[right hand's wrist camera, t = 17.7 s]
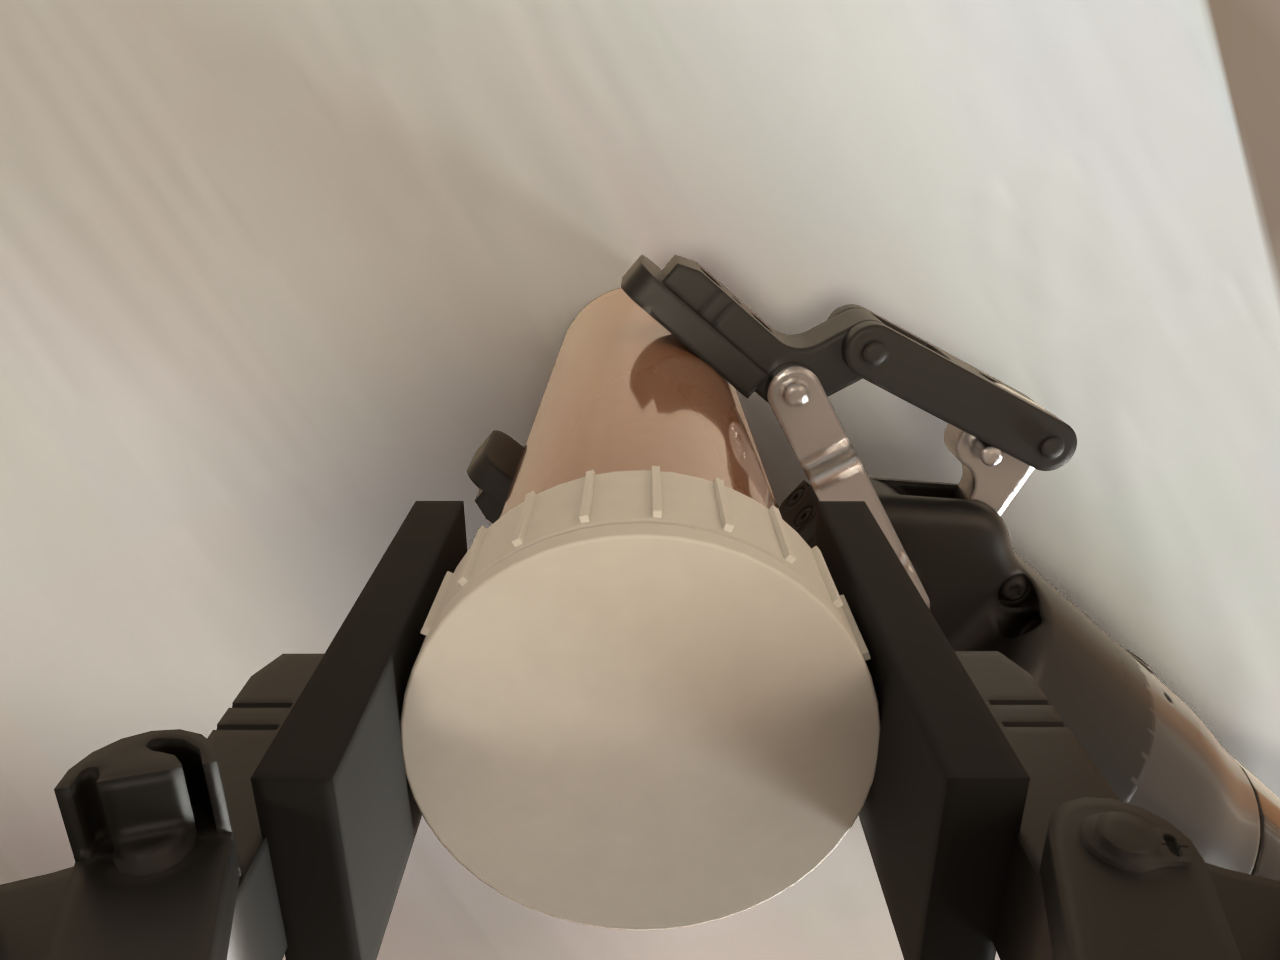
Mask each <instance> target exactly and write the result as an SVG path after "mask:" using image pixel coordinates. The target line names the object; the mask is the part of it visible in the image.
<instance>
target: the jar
mask: <svg viewBox="0 0 1280 960" xmlns="http://www.w3.org/2000/svg"><path fill="white" fill-rule="evenodd" d="M651 466H660V471H662V472H674V473H679V474H684V475H689V476H694V477H698V478H703V479H706V480H709V481H712V482H714V481H715V478H719V479H722V480H724V484H725V486H727V487H729V488H732V489H734V490H736V491H738V492H740V493H742V494H744V495H746V496H748V497H750V498H752V499H754V500H756V501H757V502H759V503H760V504H762V505H763V506H765V507H766V508H768V509H770V508H771V506H772V505H773V506H775V507H776V508H778V506H777V503H776V500H775V497H774V495H773V492H772V489H771V486H770V484H769V481H768V478H767V475H766V473H765V470H764V467H763V464H762V461H761V459H760V456H759V453H758V450H757V448H756V445H755V442H754V439H753V437H752V434H751V431H750V428H749V425H748V423H747V420H746V417H745V414H744V412H743V409H742V406H741V403H740V401H739V398H738V395H737V392H736V389H735V388H734V387H733V386H732V385H731V384H730V383H729V382H727V381H726V380H725V379H724V378H723V377H722V376H721V375H719V374H718V373H717V372H716V371H715V370H714V369H713V368H712V367H711V366H709V365H708V364H706V363H705V362H704V361H703V360H702V359H701V358H699V357H698V356H697V355H696V354H695V353H694V352H692V351H691V350H690V349H689V348H688V347H686V346H685V345H684V344H683V343H682V342H681V341H679V340H678V339H677V338H676V337H675V336H674V335H672V334H671V333H670V332H669V331H668V330H667V329H665V328H664V327H663V326H662V325H661V324H660V323H658V322H657V321H656V320H655V319H654V318H653V317H651V316H650V315H649V314H648V313H647V312H645V311H644V310H643V309H642V308H641V307H640V306H638V305H637V304H636V303H635V302H634V301H633V300H632V299H631V298H630V297H629V296H628V295H627V294H626V293H625V292H624V291H623V289H622V288H619V289H616V290H613V291H610V292H608V293H606V294H604V295H601V296H600V297H598V298H597V299H595V300H593V301H592V302H591V303H589V304H588V305H587V306H586V307H585V308H584V309H583V310H582V311H581V312H580V313H579V314H578V315H577V316H576V318H575V319H574V321H573V322H572V323H571V325H570V327H569V329H568V331H567V333H566V335H565V337H564V340H563V343H562V346H561V348H560V351H559V354H558V357H557V360H556V362H555V365H554V368H553V371H552V373H551V376H550V379H549V382H548V384H547V387H546V390H545V393H544V395H543V398H542V401H541V404H540V407H539V409H538V412H537V415H536V418H535V420H534V423H533V426H532V429H531V431H530V434H529V437H528V440H527V443H526V445H525V448H524V451H523V454H522V456H521V459H520V462H519V465H518V467H517V470H516V473H515V476H514V478H513V481H512V484H511V487H510V490H509V492H508V495H507V498H506V501H505V503H504V506H503V509H502V512H501V514H500V517H499V519H500V518H501V517H502V516H503V515H504V514H506V513H507V512H508V511H509V510H511V509H513V508H514V507H516V506H517V505H519V504H521V503H522V502H524V500H525V497H526V494H527V493H529V492H531V491H534V493H535V494H539V493H541V492H543V491H545V490H548V489H550V488H552V487H554V486H557V485H559V484H562V483H566V482H569V481H572V480H576V479H579V478H582V477H585V476H586V471H591V470H594V471H595V475H597V474H603V473H609V472H615V471H636V470H649V471H651ZM779 512H780V511H779Z"/></svg>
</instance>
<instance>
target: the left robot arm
mask: <svg viewBox="0 0 1280 960" xmlns="http://www.w3.org/2000/svg"><path fill="white" fill-rule="evenodd" d="M621 288H622V289H623V291H624V292H625V293H626V294H627V295H628V296H629V297H630V298H631V299H632V300H633V301H634V302H635V303H636V304H637V305H638V306H640V307H641V308H642V309H643V310H644V311H645V312H647V313H648V314H649V315H650V316H651V317H653V318H654V319H655V320H656V321H657V322H658V323H660V324H661V325H662V326H663V327H664V328H665V329H667V330H668V331H669V332H670V333H671V334H672V335H674V336H675V337H676V338H677V339H678V340H679V341H681V342H682V343H683V344H684V345H685V346H686V347H688V348H689V349H690V350H691V351H692V352H694V353H695V354H696V355H697V356H698V357H699V358H701V359H702V360H703V361H704V362H705V363H706V364H708V365H709V366H711V367H712V368H713V369H714V370H715V371H716V372H717V373H718V374H719V375H721V376H722V377H723V378H724V379H725V380H726V381H727V382H729V383H730V384H731V385H732V386H733V387H734V388H736V389H737V390H738V391H739V392H740V393H742V394H743V395H744V396H745V397H746V398H748V397H749V396H750V395H751V394H752V393H753V392H754V391H755V392H756V393H758V394H759V395H760V396H761V397H762V398H763V399H765V400H766V401H767V402H768V403H769V404H770V406H771V408H772V410H773V412H774V414H775V416H776V418H777V420H778V421H779V423H780V425H781V427H782V429H783V431H784V433H785V435H786V437H787V439H788V441H789V443H790V445H791V446H792V448H793V450H794V452H795V454H796V456H797V458H798V460H799V462H800V464H801V466H802V468H803V470H804V472H805V474H806V476H807V478H808V479H809V481H810V483H811V485H809V484H808V483H807V482H806V481H803V482H802V483H801V484H800V485H799V486H798V487H797V488H796V489H795V490H794V491H793V492H792V493H791V494H790V495H789V496H788V497H787V498H786V499H785V500H784V501H783V503H782V504H781V506H780V508H779V511H780V514H781V517H782V519H783V520H784V521H785V522H786V523H787V524H788V525H789V526H791V527H792V528H793V529H794V530H795V531H796V532H797V533H798V534H799V535H800V536H801V537H802V538H803V540H804V541H805V542H806V543H807V544H808V545H809V547H810V548H811V549H812V548H813V547H814V536H815V523H816V510H817V501H865V503H866V504H867V506H868V508H869V509H870V511H871V513H872V514H873V516H874V518H875V520H876V521H877V523H878V525H879V526H880V528H881V530H882V531H883V533H884V535H885V536H886V538H887V540H888V541H889V543H890V545H891V546H892V548H893V550H894V551H895V553H896V555H897V556H898V558H899V560H900V561H901V563H902V565H903V566H904V568H905V570H906V571H907V573H908V575H909V576H910V578H911V580H912V581H913V583H914V585H915V586H916V588H917V590H918V591H919V593H920V595H921V596H922V598H923V600H924V601H925V603H926V605H927V606H928V608H929V610H930V611H931V613H932V615H933V616H934V618H935V620H936V621H937V623H938V625H939V627H940V628H941V630H942V632H943V633H944V635H945V637H946V638H947V640H948V642H949V643H950V645H951V647H952V648H953V650H954V651H999V652H1000V653H1001V654H1003V655H1004V656H1006V657H1007V658H1008V659H1010V660H1011V661H1013V662H1014V663H1016V664H1017V665H1018V666H1020V667H1021V668H1023V669H1024V670H1025V671H1027V672H1028V673H1030V675H1031V676H1032V677H1033V679H1034V680H1035V682H1036V683H1037V684H1038V686H1039V687H1040V689H1041V690H1042V691H1043V693H1044V694H1045V696H1046V697H1047V698H1048V703H1049V705H1053V707H1054V708H1055V710H1056V711H1057V712H1058V714H1059V715H1060V717H1061V718H1062V719H1063V721H1064V727H1068V728H1069V729H1070V731H1071V732H1072V734H1073V735H1074V736H1075V738H1076V739H1077V741H1078V742H1079V743H1080V745H1081V746H1082V748H1083V749H1084V750H1085V752H1086V753H1087V755H1088V756H1089V757H1090V759H1091V760H1092V762H1093V763H1094V764H1095V766H1096V767H1097V769H1098V770H1099V771H1100V773H1101V774H1102V776H1103V777H1104V778H1105V780H1106V781H1107V783H1108V784H1109V785H1110V787H1111V788H1112V790H1113V791H1114V792H1115V794H1116V795H1117V797H1118V798H1119V800H1120V801H1122V802H1125V803H1129V804H1132V805H1136V806H1139V807H1142V808H1144V809H1146V810H1147V811H1149V812H1151V813H1153V814H1155V815H1157V816H1159V817H1161V818H1163V819H1165V820H1167V821H1169V822H1170V823H1171V824H1172V825H1173V826H1175V827H1176V828H1177V829H1178V830H1179V831H1180V832H1182V833H1183V834H1184V835H1185V836H1186V837H1188V838H1189V839H1190V840H1191V841H1192V843H1193V844H1194V846H1195V847H1196V849H1197V850H1198V852H1199V853H1200V855H1201V856H1202V858H1203V860H1204V861H1205V863H1209V864H1212V865H1215V866H1219V867H1222V868H1225V869H1229V870H1233V871H1238V872H1242V873H1246V874H1251V875H1255V876H1259V877H1264V878H1268V879H1272V880H1277V881H1280V798H1279V797H1278V796H1276V795H1275V794H1274V793H1273V792H1272V791H1271V790H1270V789H1268V788H1267V787H1266V786H1265V785H1264V784H1263V783H1262V782H1260V781H1259V780H1258V779H1257V778H1256V777H1255V776H1254V775H1252V774H1251V773H1250V772H1249V771H1248V770H1247V769H1246V768H1244V767H1243V766H1242V765H1241V764H1240V763H1239V762H1238V761H1236V760H1235V759H1234V758H1233V757H1232V756H1231V755H1230V754H1229V753H1228V752H1227V751H1226V750H1225V749H1224V748H1223V747H1222V746H1221V745H1220V744H1219V742H1218V741H1217V740H1216V738H1215V737H1214V736H1213V735H1212V733H1211V732H1210V731H1209V730H1208V728H1207V727H1206V726H1205V725H1204V724H1203V723H1202V721H1201V720H1200V719H1199V718H1198V717H1197V716H1196V714H1195V713H1194V712H1193V711H1192V710H1191V709H1190V708H1189V707H1188V706H1187V705H1186V704H1185V703H1184V702H1183V701H1182V700H1181V699H1180V698H1179V697H1178V696H1176V695H1175V694H1174V693H1173V692H1172V691H1171V690H1169V689H1168V688H1167V687H1166V686H1165V685H1164V684H1163V683H1162V682H1161V681H1160V680H1158V679H1157V678H1156V675H1155V673H1154V672H1153V671H1152V670H1151V669H1150V667H1149V666H1148V665H1147V664H1146V663H1145V662H1144V661H1142V660H1141V659H1140V658H1138V657H1137V656H1136V655H1134V654H1133V653H1131V652H1129V651H1127V650H1125V649H1123V648H1122V647H1121V646H1120V645H1119V644H1118V643H1116V642H1115V641H1114V640H1113V639H1112V638H1111V637H1110V636H1108V635H1107V634H1106V633H1105V632H1104V631H1103V630H1102V629H1101V628H1099V627H1098V626H1097V625H1096V624H1095V623H1094V622H1092V621H1091V620H1090V619H1089V618H1088V617H1087V616H1086V615H1085V614H1083V613H1082V612H1081V611H1080V610H1079V609H1078V608H1077V607H1075V606H1074V605H1073V604H1072V603H1071V602H1070V601H1069V600H1068V599H1066V598H1065V597H1064V596H1063V595H1062V594H1061V593H1060V592H1058V591H1057V590H1056V589H1055V588H1054V587H1053V586H1052V585H1051V584H1049V583H1048V582H1047V581H1046V580H1045V579H1044V578H1043V577H1042V576H1040V575H1039V574H1038V573H1037V572H1036V571H1035V570H1034V569H1032V568H1031V567H1030V566H1029V565H1028V564H1027V563H1026V562H1025V561H1023V560H1022V559H1021V558H1020V557H1019V556H1018V555H1017V554H1016V553H1015V552H1014V551H1013V548H1012V546H1011V543H1010V540H1009V534H1008V530H1007V527H1006V525H1005V523H1004V521H1003V519H1002V518H1001V516H1000V515H1001V514H1002V512H1003V511H1004V510H1005V508H1006V507H1007V506H1008V504H1009V503H1010V501H1011V500H1012V499H1013V497H1014V496H1015V494H1016V493H1017V492H1018V490H1019V489H1020V488H1021V486H1022V485H1023V483H1024V482H1025V481H1026V479H1027V478H1028V476H1029V475H1030V474H1031V472H1032V471H1033V470H1034V468H1035V469H1038V470H1042V471H1050V470H1054V469H1057V468H1059V467H1061V466H1063V465H1064V464H1066V463H1067V462H1068V461H1069V460H1070V459H1071V457H1072V456H1073V454H1074V452H1075V449H1076V445H1077V438H1076V434H1075V432H1074V431H1073V429H1072V428H1071V427H1070V426H1069V425H1067V424H1066V423H1065V422H1063V421H1062V420H1060V419H1059V418H1057V417H1056V416H1054V415H1053V414H1052V413H1050V412H1049V411H1047V410H1046V409H1044V408H1043V407H1042V406H1040V405H1039V404H1037V403H1036V402H1034V401H1033V400H1032V399H1030V398H1029V397H1027V396H1026V395H1024V394H1023V393H1021V392H1019V391H1017V390H1015V389H1013V388H1011V387H1010V386H1008V385H1006V384H1004V383H1002V382H1000V381H998V380H997V379H995V378H993V377H991V376H989V375H987V374H985V373H984V372H982V371H980V370H978V369H976V368H974V367H973V366H971V365H969V364H967V363H965V362H963V361H961V360H960V359H958V358H956V357H954V356H952V355H950V354H948V353H947V352H945V351H943V350H941V349H939V348H937V347H936V346H934V345H932V344H930V343H928V342H926V341H924V340H923V339H921V338H919V337H917V336H915V335H913V334H911V333H910V332H908V331H906V330H904V329H902V328H900V327H898V326H897V325H895V324H893V323H891V322H889V321H887V320H886V319H884V318H882V317H880V316H878V315H876V314H874V313H873V312H871V311H869V310H867V309H865V308H863V307H861V306H859V305H852V304H850V305H844V306H841V307H839V308H838V309H836V310H835V311H834V312H833V313H832V314H831V315H830V316H829V318H828V320H827V321H825V322H823V323H822V324H820V325H818V326H816V327H814V328H812V329H811V330H809V331H807V332H804V333H801V334H797V335H786V334H781V333H778V332H777V331H775V330H773V329H772V328H770V327H769V326H768V325H767V324H766V323H765V322H764V321H762V320H761V319H760V318H759V317H758V316H757V315H756V314H755V313H753V312H752V311H751V310H750V309H749V308H748V307H747V306H746V305H744V304H743V303H742V302H741V301H740V300H739V299H738V298H737V297H735V296H734V295H733V294H732V293H731V292H730V291H728V290H727V289H726V288H725V287H724V286H723V285H722V284H721V283H720V282H719V281H717V280H716V279H715V278H714V277H713V276H712V275H711V274H709V273H708V272H707V271H706V270H705V269H704V268H703V267H702V266H700V265H699V264H698V263H697V262H694V261H691V260H688V259H686V258H683V257H680V256H677V255H675V256H674V257H673V258H672V259H671V260H670V262H669V263H668V264H667V265H666V266H665V267H664V269H663V270H661V269H660V268H659V267H658V266H656V265H655V264H654V263H653V262H652V261H650V260H649V259H648V258H646V257H645V256H643V255H641V256H640V257H639V258H638V260H637V261H636V262H635V263H634V264H633V266H632V267H631V268H630V269H629V270H628V272H627V273H626V274H625V275H624V276H623V278H622V284H621ZM862 378H863V379H865V380H867V381H869V382H871V383H873V384H875V385H877V386H879V387H880V388H882V389H884V390H886V391H888V392H890V393H892V394H894V395H896V396H898V397H900V398H901V399H903V400H905V401H907V402H909V403H911V404H913V405H915V406H917V407H919V408H920V409H922V410H924V411H926V412H928V413H930V414H932V415H934V416H936V417H938V418H940V419H941V420H943V421H945V422H947V423H948V424H947V426H946V429H945V432H944V441H945V444H946V446H947V448H948V449H949V450H950V451H951V452H952V453H953V454H954V455H955V457H956V458H957V459H958V460H959V461H960V462H961V463H962V467H963V475H962V478H961V481H960V483H959V484H953V483H939V482H926V481H912V480H898V479H884V478H871V477H868V476H867V474H866V472H865V470H864V468H863V466H862V464H861V462H860V460H859V458H858V456H857V454H856V453H855V451H854V449H853V447H852V445H851V443H850V442H849V440H848V438H847V436H846V434H845V432H844V430H843V428H842V426H841V424H840V422H839V419H838V417H837V415H836V413H835V411H834V409H833V407H832V405H831V403H830V401H829V399H828V396H830V395H832V394H834V393H836V392H837V391H839V390H841V389H843V388H845V387H847V386H849V385H851V384H853V383H855V382H857V381H858V380H860V379H862ZM523 451H524V447H522V446H521V445H520V444H519V443H517V442H516V441H515V440H513V439H512V438H511V437H509V436H508V435H506V434H505V433H503V432H500V431H493V432H492V434H491V435H490V436H489V437H488V438H487V440H486V441H485V442H484V443H483V444H482V446H481V447H480V448H479V449H478V450H477V452H476V453H475V455H474V457H473V459H472V461H471V463H470V465H469V467H468V470H467V473H468V475H469V477H470V479H471V480H472V481H473V483H474V484H475V485H476V486H477V487H478V488H480V490H479V492H478V494H477V497H476V499H475V502H476V503H477V505H478V506H479V508H480V509H481V511H482V513H483V514H484V516H485V517H486V519H487V520H489V521H490V522H492V523H495V522H496V521H497V520H498V519H499V517H500V514H501V512H502V509H503V506H504V503H505V501H506V498H507V495H508V492H509V490H510V487H511V484H512V481H513V478H514V476H515V473H516V470H517V467H518V465H519V462H520V459H521V456H522V454H523Z"/></svg>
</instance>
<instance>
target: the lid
mask: <svg viewBox="0 0 1280 960" xmlns="http://www.w3.org/2000/svg"><path fill="white" fill-rule="evenodd" d="M420 633H421V634H423V635H425V636H426V637H425V639H424V642H423V644H422V647H421V649H420V652H419V654H418V656H417V659H416V661H415V663H414V666H413V668H412V671H411V674H410V677H409V680H408V682H407V687H406V690H405V693H404V699H403V706H402V712H401V719H400V726H401V740H402V749H403V757H404V765H405V773H406V776H407V779H408V782H409V785H410V788H411V791H412V794H413V797H414V799H415V801H416V803H417V805H418V807H419V809H420V811H421V813H422V815H423V817H424V819H425V821H426V822H427V824H428V825H429V826H430V828H431V829H432V831H433V832H434V834H435V835H436V836H437V838H438V839H439V841H440V842H441V843H442V844H443V845H444V846H445V848H446V849H447V850H448V851H449V852H450V853H451V854H452V855H453V856H454V857H455V858H456V859H457V860H458V862H460V863H461V864H462V865H463V866H464V867H465V868H467V869H468V870H469V871H470V872H471V873H473V874H474V875H475V876H476V877H477V878H479V879H480V880H481V881H483V882H484V883H486V884H487V885H489V886H490V887H492V888H493V889H495V890H496V891H498V892H500V893H501V894H503V895H505V896H507V897H509V898H511V899H513V900H514V901H516V902H518V903H520V904H522V905H524V906H526V907H529V908H531V909H534V910H537V911H539V912H542V913H545V914H547V915H550V916H552V917H556V918H560V919H563V920H567V921H571V922H575V923H578V924H583V925H590V926H596V927H602V928H608V929H624V930H659V929H671V928H678V927H686V926H693V925H697V924H701V923H706V922H710V921H714V920H718V919H722V918H725V917H728V916H731V915H733V914H736V913H739V912H742V911H745V910H748V909H750V908H752V907H754V906H756V905H758V904H760V903H762V902H765V901H767V900H769V899H771V898H773V897H774V896H776V895H778V894H779V893H781V892H783V891H784V890H786V889H787V888H789V887H791V886H792V885H794V884H796V883H797V882H798V881H799V880H801V879H802V878H803V877H804V876H806V875H807V874H808V873H810V872H811V871H812V870H813V869H815V868H816V867H817V866H818V865H819V864H820V863H821V862H822V861H823V860H824V859H825V858H826V857H827V856H828V855H829V854H830V853H831V852H832V851H833V850H834V849H835V848H836V847H837V845H838V844H839V843H840V841H841V840H842V839H843V837H844V836H845V835H846V833H847V832H848V831H849V830H850V828H851V827H852V825H853V823H854V821H855V820H856V818H857V816H858V814H859V813H860V811H861V809H862V807H863V806H864V803H865V801H866V798H867V796H868V793H869V790H870V788H871V785H872V783H873V780H874V775H875V770H876V762H877V754H878V746H879V737H880V715H879V705H878V699H877V696H876V692H875V688H874V684H873V680H872V677H871V674H870V672H869V669H868V667H867V665H866V662H865V661H866V660H869V659H871V657H870V654H869V652H868V649H867V647H866V645H865V642H864V640H863V638H862V635H861V633H860V631H859V629H858V626H857V624H856V622H855V619H854V617H853V615H852V612H851V610H850V608H849V605H848V603H847V601H846V599H845V596H844V595H840V596H839V593H838V591H837V589H836V586H835V584H834V582H833V579H832V577H831V574H830V572H829V570H828V567H827V565H826V563H825V560H824V558H823V556H822V553H821V551H820V550H819V548H818V547H817V546H815V547H813V548H812V549H811V548H810V547H809V545H808V544H807V543H806V542H805V541H804V540H803V538H802V537H801V536H800V535H799V534H798V533H797V532H796V531H795V530H794V529H793V528H792V527H791V526H789V525H788V524H787V523H786V522H785V521H784V520H783V519H782V517H781V514H780V512H779V509H778V508H776V507H775V506H773V505H772V506H771V508H770V509H768V508H766V507H765V506H763V505H762V504H760V503H759V502H757V501H756V500H754V499H752V498H750V497H748V496H746V495H744V494H742V493H740V492H738V491H736V490H734V489H732V488H729V487H727V486H725V484H724V480H722V479H719V478H715V481H714V482H712V481H709V480H706V479H703V478H698V477H694V476H689V475H684V474H679V473H674V472H662V471H660V466H651V471H649V470H636V471H615V472H609V473H603V474H597V475H595V471H594V470H591V471H586V476H585V477H582V478H579V479H576V480H572V481H569V482H566V483H562V484H559V485H557V486H554V487H552V488H550V489H548V490H545V491H543V492H541V493H539V494H535V493H534V491H531V492H529V493H527V494H526V497H525V500H524V502H522V503H521V504H519V505H517V506H516V507H514V508H513V509H511V510H509V511H508V512H507V513H506V514H504V515H503V516H502V517H501V518H500V519H498V520H497V521H496V522H495V523H493V524H492V525H491V526H490V527H489V528H488V529H487V528H485V527H484V526H482V527H481V528H480V529H479V530H478V531H477V534H476V536H475V539H474V541H473V544H472V546H471V547H470V548H469V550H468V551H467V553H466V554H465V556H464V557H463V559H462V560H461V561H460V563H459V564H458V566H457V567H456V569H455V571H454V573H451V572H449V571H447V573H446V575H445V577H444V579H443V581H442V584H441V586H440V588H439V591H438V593H437V595H436V598H435V600H434V602H433V604H432V607H431V609H430V611H429V614H428V616H427V618H426V621H425V623H424V625H423V627H422V630H421V632H420Z"/></svg>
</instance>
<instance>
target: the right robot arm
mask: <svg viewBox="0 0 1280 960" xmlns="http://www.w3.org/2000/svg"><path fill="white" fill-rule="evenodd" d="M815 546H817V547H818V548H819V550H820V551H821V553H822V556H823V558H824V560H825V563H826V565H827V567H828V570H829V572H830V574H831V577H832V579H833V582H834V584H835V586H836V589H837V591H838V593H839V596H840V595H844V596H845V599H846V601H847V603H848V605H849V608H850V610H851V612H852V615H853V617H854V619H855V622H856V624H857V626H858V629H859V631H860V633H861V635H862V638H863V640H864V642H865V645H866V647H867V649H868V652H869V654H870V657H871V659H869V660H866V661H865V662H866V665H867V667H868V669H869V672H870V674H871V677H872V680H873V684H874V688H875V692H876V696H877V699H878V705H879V715H880V737H879V746H878V754H877V762H876V770H875V775H874V780H873V783H872V785H871V788H870V790H869V793H868V796H867V798H866V801H865V803H864V806H863V807H862V809H861V811H860V813H859V814H858V815H859V818H860V821H861V824H862V827H863V831H864V834H865V837H866V840H867V843H868V846H869V849H870V853H871V856H872V859H873V862H874V865H875V868H876V872H877V875H878V878H879V881H880V884H881V887H882V891H883V894H884V897H885V900H886V903H887V906H888V909H889V913H890V916H891V919H892V922H893V925H894V928H895V932H896V935H897V938H898V941H899V944H900V947H901V951H902V954H903V957H904V960H995V955H996V951H997V953H998V955H999V958H1000V960H1280V881H1277V880H1272V879H1268V878H1264V877H1259V876H1255V875H1251V874H1246V873H1242V872H1238V871H1233V870H1229V869H1225V868H1222V867H1219V866H1215V865H1212V864H1209V863H1205V861H1204V860H1203V858H1202V856H1201V855H1200V853H1199V852H1198V850H1197V849H1196V847H1195V846H1194V844H1193V843H1192V841H1191V840H1190V839H1189V838H1188V837H1186V836H1185V835H1184V834H1183V833H1182V832H1180V831H1179V830H1178V829H1177V828H1176V827H1175V826H1173V825H1172V824H1171V823H1170V822H1169V821H1167V820H1165V819H1163V818H1161V817H1159V816H1157V815H1155V814H1153V813H1151V812H1149V811H1147V810H1146V809H1144V808H1142V807H1139V806H1136V805H1132V804H1129V803H1125V802H1122V801H1120V800H1119V798H1118V797H1117V795H1116V794H1115V792H1114V791H1113V790H1112V788H1111V787H1110V785H1109V784H1108V783H1107V781H1106V780H1105V778H1104V777H1103V776H1102V774H1101V773H1100V771H1099V770H1098V769H1097V767H1096V766H1095V764H1094V763H1093V762H1092V760H1091V759H1090V757H1089V756H1088V755H1087V753H1086V752H1085V750H1084V749H1083V748H1082V746H1081V745H1080V743H1079V742H1078V741H1077V739H1076V738H1075V736H1074V735H1073V734H1072V732H1071V731H1070V729H1069V728H1068V727H1064V721H1063V719H1062V718H1061V717H1060V715H1059V714H1058V712H1057V711H1056V710H1055V708H1054V707H1053V705H1049V703H1048V698H1047V697H1046V696H1045V694H1044V693H1043V691H1042V690H1041V689H1040V687H1039V686H1038V684H1037V683H1036V682H1035V680H1034V679H1033V677H1032V676H1031V675H1030V673H1028V672H1027V671H1025V670H1024V669H1023V668H1021V667H1020V666H1018V665H1017V664H1016V663H1014V662H1013V661H1011V660H1010V659H1008V658H1007V657H1006V656H1004V655H1003V654H1001V653H1000V652H999V651H954V650H953V648H952V647H951V645H950V643H949V642H948V640H947V638H946V637H945V635H944V633H943V632H942V630H941V628H940V627H939V625H938V623H937V621H936V620H935V618H934V616H933V615H932V613H931V611H930V610H929V608H928V606H927V605H926V603H925V601H924V600H923V598H922V596H921V595H920V593H919V591H918V590H917V588H916V586H915V585H914V583H913V581H912V580H911V578H910V576H909V575H908V573H907V571H906V570H905V568H904V566H903V565H902V563H901V561H900V560H899V558H898V556H897V555H896V553H895V551H894V550H893V548H892V546H891V545H890V543H889V541H888V540H887V538H886V536H885V535H884V533H883V531H882V530H881V528H880V526H879V525H878V523H877V521H876V520H875V518H874V516H873V514H872V513H871V511H870V509H869V508H868V506H867V504H866V503H865V501H817V510H816V523H815V536H814V547H815ZM466 553H467V542H466V529H465V516H464V503H463V501H416V502H415V504H414V505H413V507H412V509H411V510H410V512H409V514H408V515H407V517H406V519H405V520H404V522H403V524H402V525H401V527H400V529H399V530H398V532H397V534H396V535H395V537H394V539H393V540H392V542H391V544H390V545H389V547H388V549H387V550H386V552H385V554H384V556H383V557H382V559H381V561H380V562H379V564H378V566H377V567H376V569H375V571H374V572H373V574H372V576H371V577H370V579H369V581H368V582H367V584H366V586H365V587H364V589H363V591H362V592H361V594H360V596H359V597H358V599H357V601H356V602H355V604H354V606H353V607H352V609H351V611H350V612H349V614H348V616H347V617H346V619H345V621H344V622H343V624H342V626H341V627H340V629H339V631H338V632H337V634H336V636H335V637H334V639H333V641H332V642H331V644H330V646H329V647H328V649H327V651H326V653H325V654H282V655H281V656H279V657H278V658H276V659H275V660H274V661H272V662H271V663H269V664H268V665H267V666H265V667H264V668H262V669H261V670H260V671H258V672H257V673H255V674H254V675H253V676H251V677H250V679H249V680H248V682H247V683H246V684H245V686H244V687H243V689H242V690H241V692H240V693H239V694H238V696H237V697H236V699H235V700H234V701H233V706H232V708H229V709H228V710H227V711H226V713H225V714H224V716H223V717H222V718H221V720H220V721H219V723H218V724H217V730H213V731H212V733H211V734H210V735H209V737H208V738H207V739H206V738H205V737H204V736H203V735H202V734H198V733H193V732H189V731H184V730H180V729H179V730H161V731H150V732H146V733H142V734H138V735H135V736H131V737H127V738H123V739H120V740H118V741H116V742H114V743H112V744H109V745H107V746H105V747H103V748H101V749H99V750H97V751H94V752H92V753H91V754H90V755H88V756H87V757H86V758H84V759H83V760H82V761H80V762H79V763H77V764H76V765H75V766H73V767H72V768H71V769H69V770H68V772H67V773H66V774H65V776H64V777H63V778H62V780H61V781H60V782H59V783H58V785H57V786H56V787H55V789H54V791H55V794H56V798H57V801H58V804H59V808H60V811H61V815H62V818H63V821H64V825H65V828H66V831H67V835H68V838H69V841H70V845H71V848H72V852H73V855H74V858H75V862H76V863H75V865H74V867H71V868H68V869H64V870H61V871H58V872H54V873H50V874H46V875H41V876H37V877H33V878H28V879H24V880H20V881H15V882H11V883H7V884H2V885H0V960H282V959H283V956H284V954H285V957H286V960H376V958H377V955H378V952H379V949H380V946H381V943H382V940H383V936H384V933H385V930H386V927H387V924H388V921H389V917H390V914H391V911H392V908H393V905H394V902H395V898H396V895H397V892H398V889H399V886H400V883H401V880H402V876H403V873H404V870H405V867H406V864H407V861H408V857H409V854H410V851H411V848H412V845H413V842H414V838H415V835H416V832H417V829H418V826H419V823H420V820H421V816H422V813H421V811H420V809H419V807H418V805H417V803H416V801H415V799H414V797H413V794H412V791H411V788H410V785H409V782H408V779H407V776H406V773H405V765H404V757H403V749H402V740H401V726H400V719H401V712H402V706H403V699H404V693H405V690H406V687H407V682H408V680H409V677H410V674H411V671H412V668H413V666H414V663H415V661H416V659H417V656H418V654H419V652H420V649H421V647H422V644H423V642H424V639H425V637H426V636H425V635H423V634H421V633H420V632H421V630H422V627H423V625H424V623H425V621H426V618H427V616H428V614H429V611H430V609H431V607H432V604H433V602H434V600H435V598H436V595H437V593H438V591H439V588H440V586H441V584H442V581H443V579H444V577H445V575H446V573H447V571H449V572H451V573H454V571H455V569H456V567H457V566H458V564H459V563H460V561H461V560H462V559H463V557H464V556H465V554H466Z"/></svg>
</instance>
